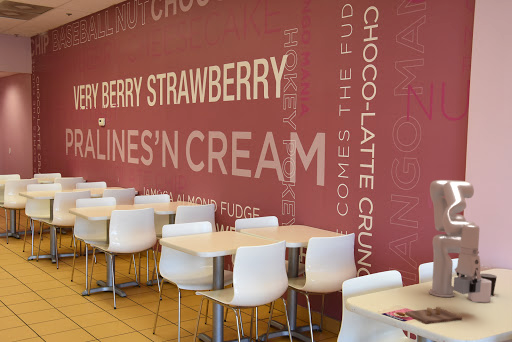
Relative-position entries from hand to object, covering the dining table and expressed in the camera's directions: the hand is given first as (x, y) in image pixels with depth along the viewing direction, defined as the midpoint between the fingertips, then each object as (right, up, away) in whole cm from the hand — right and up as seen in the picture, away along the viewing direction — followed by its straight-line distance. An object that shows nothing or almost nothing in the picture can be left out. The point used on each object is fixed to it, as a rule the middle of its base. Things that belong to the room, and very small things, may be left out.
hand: (466, 289), depth 241 cm
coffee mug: (+27, -11, +40) cm, 49 cm away
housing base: (-17, -11, -5) cm, 21 cm away
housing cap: (0, -1, 0) cm, 1 cm away
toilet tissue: (+17, -11, +26) cm, 33 cm away
